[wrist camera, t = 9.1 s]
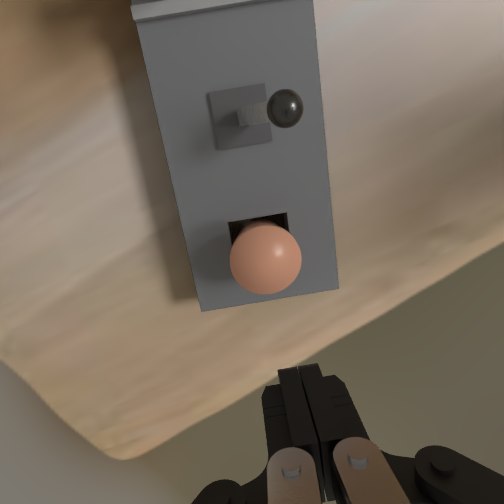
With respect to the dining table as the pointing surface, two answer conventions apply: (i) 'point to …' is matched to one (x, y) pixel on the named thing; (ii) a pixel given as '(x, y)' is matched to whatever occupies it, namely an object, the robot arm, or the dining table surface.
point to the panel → (240, 133)
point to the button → (264, 257)
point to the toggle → (274, 110)
